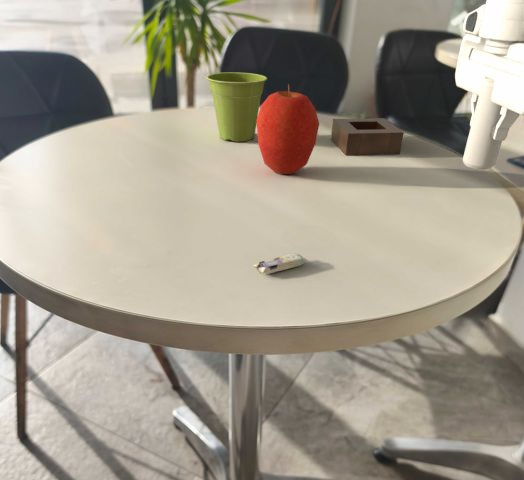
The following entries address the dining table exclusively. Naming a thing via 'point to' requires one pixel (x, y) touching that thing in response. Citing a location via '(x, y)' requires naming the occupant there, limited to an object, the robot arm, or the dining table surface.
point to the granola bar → (280, 263)
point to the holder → (366, 136)
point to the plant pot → (236, 103)
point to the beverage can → (483, 131)
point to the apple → (287, 131)
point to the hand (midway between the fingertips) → (486, 133)
